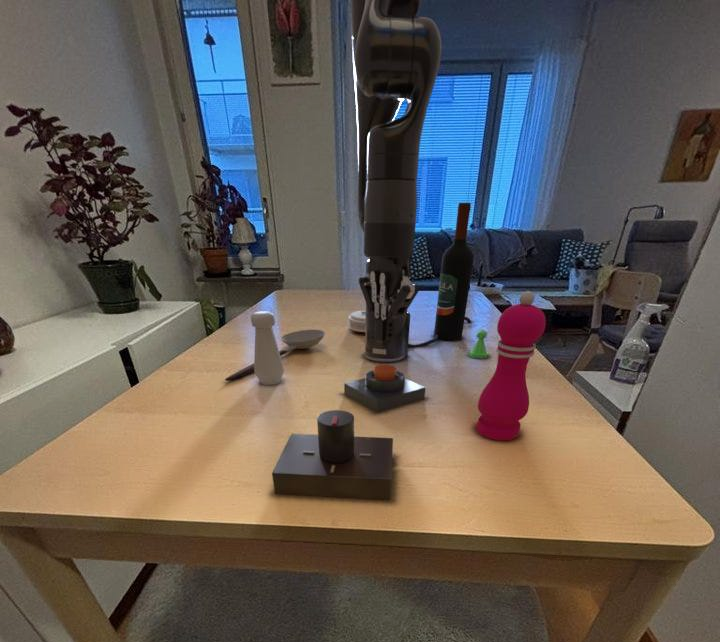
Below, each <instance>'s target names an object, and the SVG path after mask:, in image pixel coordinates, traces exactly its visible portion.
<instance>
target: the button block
mask: <svg viewBox="0 0 720 642" xmlns="http://www.w3.org/2000/svg"><path fill="white" fill-rule="evenodd" d="M343 387H344V388H343V389H344V391H343V392H344V395H345V396H347V397H348V398H350V399H351V400H353V401H355V402H357V403H359V405H361V406H363V407H365V408H367V409H369V410H371V411H372V412H374V413H375V414H377V413H381V412H384V411H385V412H386V411H388V410H391V409H395V408H398V407H401V406H405V405H408V404H411V403H415V402H419V401H421V400H424V399H425V398H426V397H425V396H426V386H424V385H421V384H419V383H417V382H415V381H413V380H410V379H408V378H406V376H405V374H404V373H403V372H400V371H398V370H396V379H393V380H378V379H375V378H374V370H370V371H368V372H366V373H365V374H364V378H361V379H357V380H352V381H348V382H344V383H343Z"/></svg>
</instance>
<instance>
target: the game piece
mask: <svg viewBox="0 0 720 642" xmlns="http://www.w3.org/2000/svg"><path fill="white" fill-rule="evenodd" d="M487 336H488V332H487V331H486V330H484V329H481V330H478V331H477V333H476V338H478V339H477V341H476V342H475V345H474V346H473V348H472V350H471V351H469V352H468V356H470V357H471V358H473V359H486V358H488V356H489V352H488V351H487V349H486V345H485V339H486V338H487Z"/></svg>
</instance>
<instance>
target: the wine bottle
mask: <svg viewBox="0 0 720 642" xmlns="http://www.w3.org/2000/svg"><path fill="white" fill-rule="evenodd" d="M471 205H472V203H471V202H458V205H457V216H456V224H455V231H454V239H453V242H452V244H451V245H450V246H449V247H447V249H446V250H445V251H444V253H443V254H442V257H441V267H440V274H439V275H440V276H439V285H438V293H437V294H438V295H437V302H436V313H435V322H434V328H433V329H434V330H433V339H434V338H435V336H436V335H438V336H439V338H438V340H437V341H442V342H443V341H444V342H457V341H461V340H462V338H463V331H464V326H465V320H464V319H465V317H466V311H467V306H468V298H469V292H470V285H471V278H472V271H473V266H474V265H473V264H474V254H473V251H472V249H471V248H470V246H468V244H467V237H468V236H467V234H468V228H469V219H470V212H471V209H472V208H471V207H472V206H471Z"/></svg>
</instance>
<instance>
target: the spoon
mask: <svg viewBox="0 0 720 642" xmlns="http://www.w3.org/2000/svg"><path fill="white" fill-rule="evenodd" d="M325 335H326V332H325V331H324V330H321V329H303V330H302V329H301V330H297V331H293V332H289V333H286V334H284V335H283V336H281V338H280V340H281V342H283V343H284V344H286V345H287V346H286V347H285V348H283V349H281V350H279V353H280V357H282V356H284V355H285V354H287V353H290V352H291V351H293V350H295V349H296V350H297V349H299V350H306V349H310V348H313V347H315V346H316V345H318V344H319V343H320V342H321V341H322V340H323V339H324V337H325ZM253 372H254V363H252V364H250V365H248V366H246V367H244V368H242V369H240V370H238V371H236V372H234V373H233V374H231V375H229V376H228V377H226V378H225V379H224V380H225V381H232V380H236V379H238V378H241V377H243V376H247V375H248V374H251V373H253Z"/></svg>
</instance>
